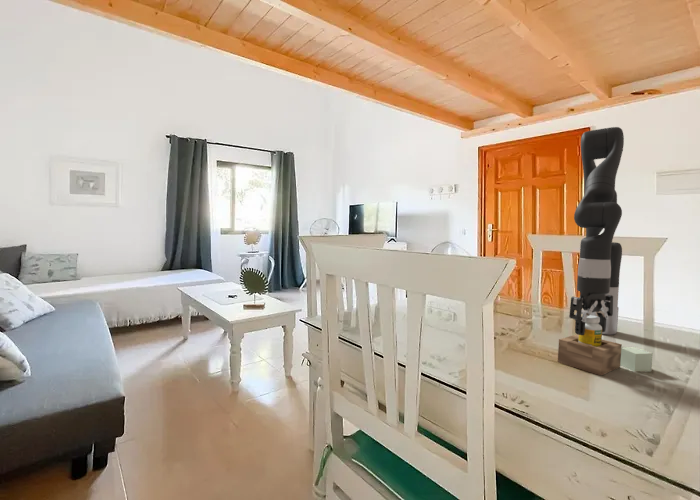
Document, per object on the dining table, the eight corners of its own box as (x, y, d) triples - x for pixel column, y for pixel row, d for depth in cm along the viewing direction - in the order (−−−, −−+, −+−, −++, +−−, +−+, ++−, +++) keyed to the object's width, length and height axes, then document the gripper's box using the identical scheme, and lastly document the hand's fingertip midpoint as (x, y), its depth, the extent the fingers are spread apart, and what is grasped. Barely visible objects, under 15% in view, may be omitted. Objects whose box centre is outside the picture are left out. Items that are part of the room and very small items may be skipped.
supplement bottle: (583, 346, 104) (585, 313, 104) (604, 351, 100) (606, 317, 99) (574, 349, 101) (576, 315, 101) (595, 355, 97) (597, 320, 96)
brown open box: (577, 354, 108) (578, 333, 108) (620, 367, 99) (621, 344, 99) (557, 361, 103) (558, 339, 102) (600, 375, 93) (602, 351, 93)
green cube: (634, 364, 102) (635, 347, 101) (651, 371, 97) (652, 353, 96) (618, 365, 101) (619, 347, 101) (634, 372, 96) (635, 353, 96)
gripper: (597, 272, 105) (594, 327, 106) (562, 274, 100) (559, 331, 101) (625, 276, 98) (621, 334, 99) (589, 278, 93) (586, 339, 94)
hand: (590, 332), depth 100 cm, fingers open, 8 cm apart
